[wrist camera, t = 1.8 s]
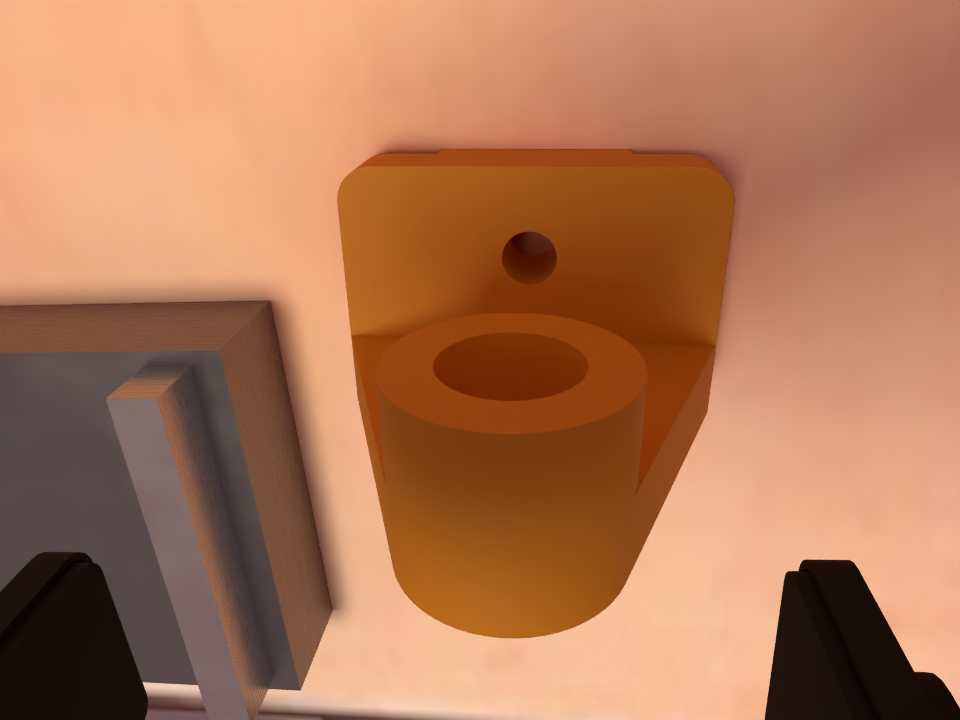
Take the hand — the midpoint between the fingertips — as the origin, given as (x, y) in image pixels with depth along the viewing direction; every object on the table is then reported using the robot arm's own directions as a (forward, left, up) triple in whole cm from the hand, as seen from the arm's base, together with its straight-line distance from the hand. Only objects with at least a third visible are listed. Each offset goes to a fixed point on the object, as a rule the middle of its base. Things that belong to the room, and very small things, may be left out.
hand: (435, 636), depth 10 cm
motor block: (+18, +8, -15) cm, 25 cm away
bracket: (-1, 0, -15) cm, 15 cm away
